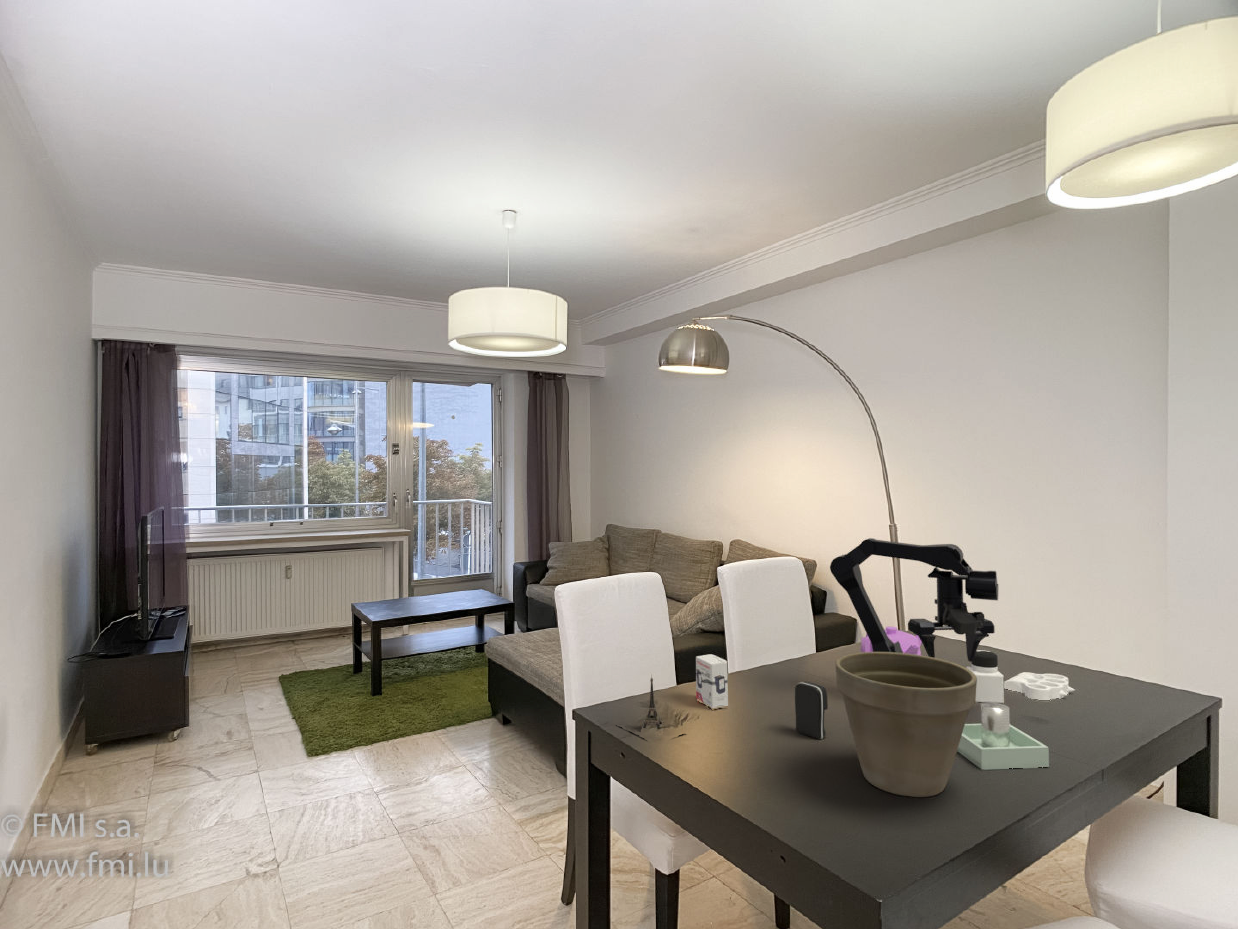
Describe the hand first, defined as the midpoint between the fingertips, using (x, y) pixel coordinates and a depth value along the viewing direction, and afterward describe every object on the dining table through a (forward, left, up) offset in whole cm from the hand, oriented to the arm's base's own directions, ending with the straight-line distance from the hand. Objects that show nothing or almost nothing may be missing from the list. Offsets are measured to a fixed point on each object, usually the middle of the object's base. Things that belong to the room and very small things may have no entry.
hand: (951, 661), depth 168 cm
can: (-3, -23, -12) cm, 26 cm away
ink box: (-56, +13, -13) cm, 59 cm away
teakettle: (+4, +41, -13) cm, 43 cm away
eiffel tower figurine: (-73, -3, -14) cm, 75 cm away
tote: (-3, -23, -13) cm, 27 cm away
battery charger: (-37, -9, -13) cm, 40 cm away
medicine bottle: (+15, +12, -13) cm, 23 cm away
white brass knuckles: (+33, +17, -14) cm, 39 cm away
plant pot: (-27, -33, -13) cm, 45 cm away
